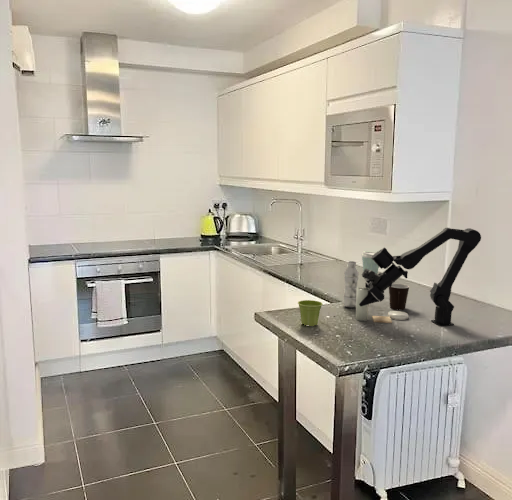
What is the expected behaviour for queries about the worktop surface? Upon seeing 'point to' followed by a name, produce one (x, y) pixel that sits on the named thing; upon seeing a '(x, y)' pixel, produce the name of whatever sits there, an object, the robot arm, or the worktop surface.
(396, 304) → the coffee mug
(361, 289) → the tumbler
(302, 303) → the plant pot
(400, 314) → the ivory rounded dome part
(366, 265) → the disposable coffee cup
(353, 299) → the plastic bottle
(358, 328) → the worktop surface
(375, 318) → the coaster
